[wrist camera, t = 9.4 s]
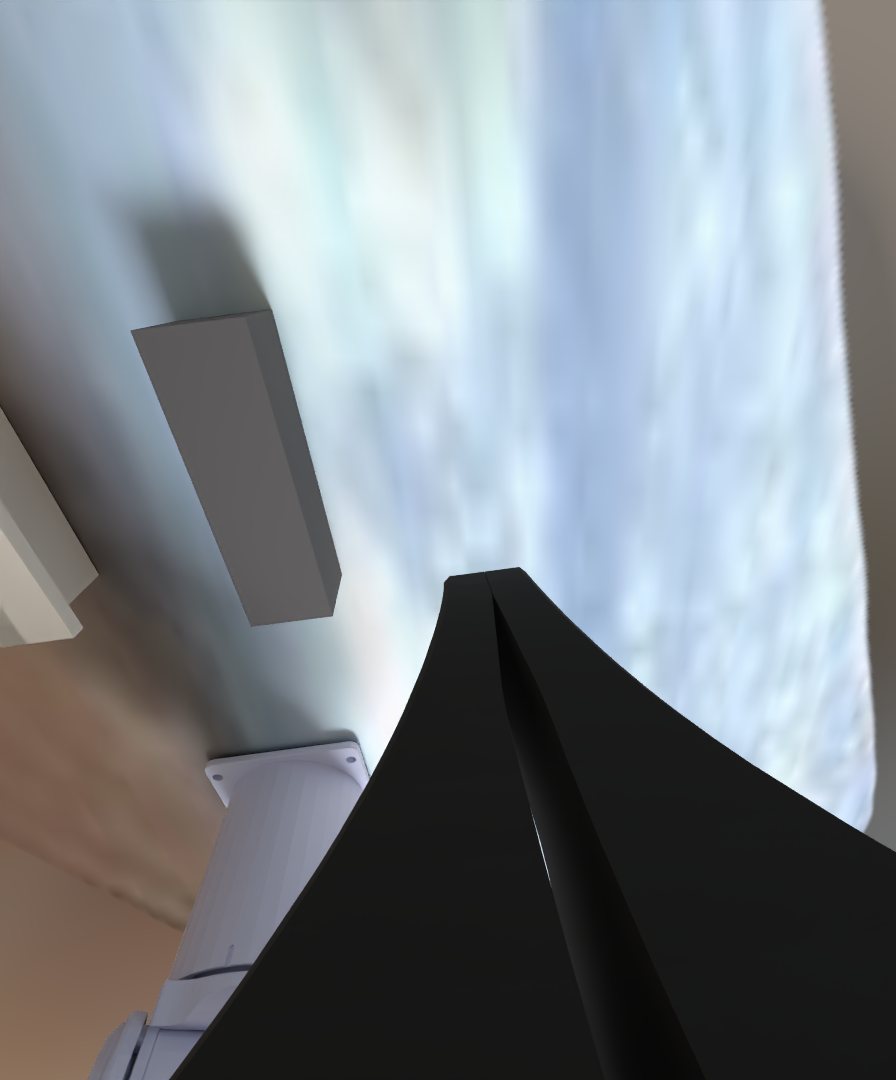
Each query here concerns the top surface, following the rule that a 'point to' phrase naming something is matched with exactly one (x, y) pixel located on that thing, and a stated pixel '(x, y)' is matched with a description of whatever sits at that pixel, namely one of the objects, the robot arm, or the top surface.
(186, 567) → the top surface
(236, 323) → the block
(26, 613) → the side clip
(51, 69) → the top surface
